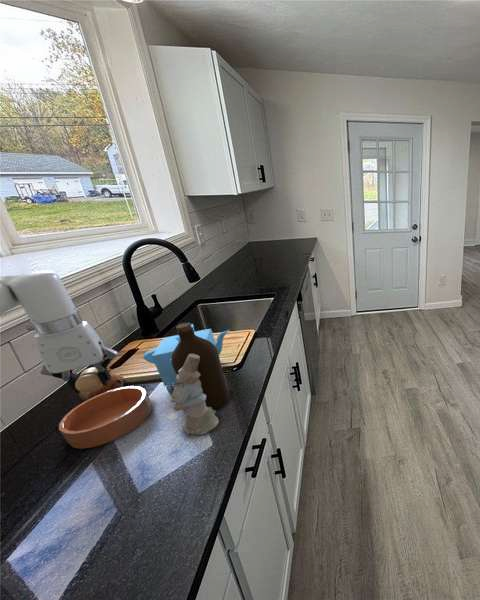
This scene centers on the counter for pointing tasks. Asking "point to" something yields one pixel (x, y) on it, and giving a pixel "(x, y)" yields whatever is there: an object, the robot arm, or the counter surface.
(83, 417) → the terracotta dish
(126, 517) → the counter surface
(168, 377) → the light blue teapot
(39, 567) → the counter surface
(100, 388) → the bread roll
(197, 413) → the figurine
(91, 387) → the potato
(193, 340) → the olive oil
